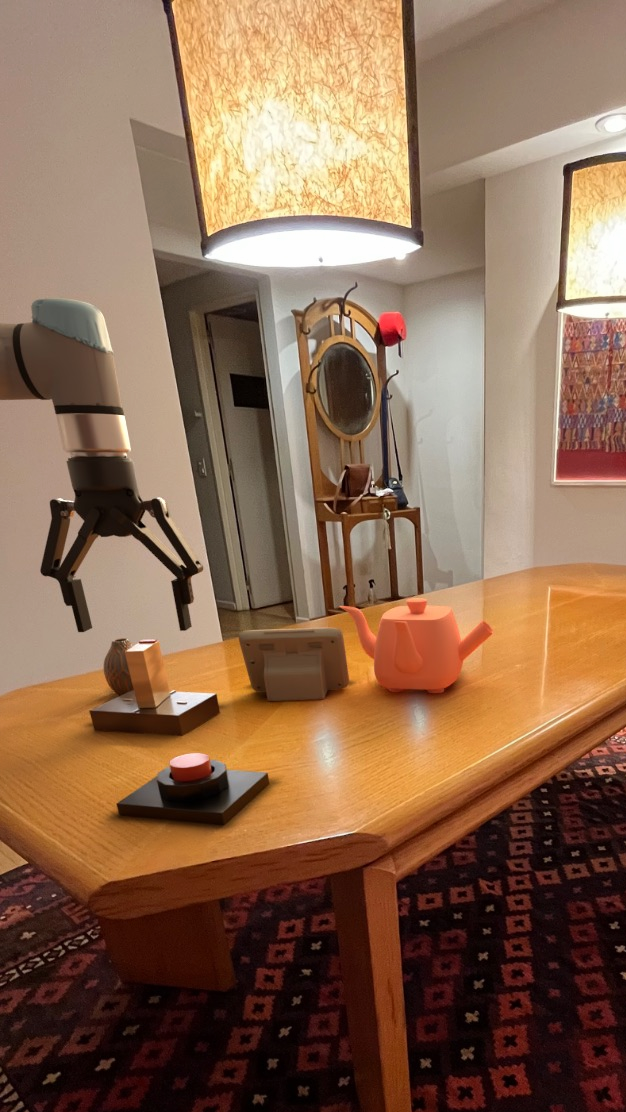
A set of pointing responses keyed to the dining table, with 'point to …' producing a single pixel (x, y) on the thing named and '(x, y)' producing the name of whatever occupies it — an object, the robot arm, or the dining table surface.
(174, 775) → the button
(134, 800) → the button block
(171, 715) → the panel
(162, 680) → the handle
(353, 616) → the teapot
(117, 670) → the vase
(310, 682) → the digital clock
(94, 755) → the dining table surface
